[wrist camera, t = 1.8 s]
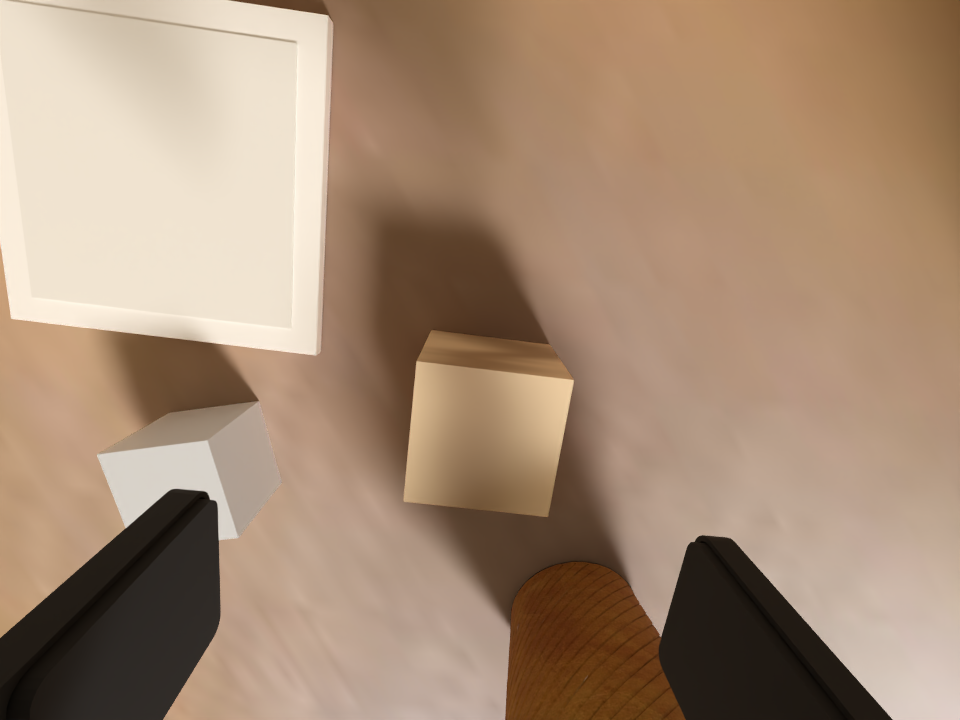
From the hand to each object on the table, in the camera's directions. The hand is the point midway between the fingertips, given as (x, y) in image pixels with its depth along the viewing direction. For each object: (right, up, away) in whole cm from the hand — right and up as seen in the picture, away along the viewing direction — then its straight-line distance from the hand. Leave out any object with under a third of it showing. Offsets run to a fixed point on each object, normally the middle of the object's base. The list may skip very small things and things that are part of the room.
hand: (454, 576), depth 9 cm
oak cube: (+1, +3, +11) cm, 11 cm away
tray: (-11, +11, +8) cm, 18 cm away
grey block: (-11, 0, +11) cm, 16 cm away
